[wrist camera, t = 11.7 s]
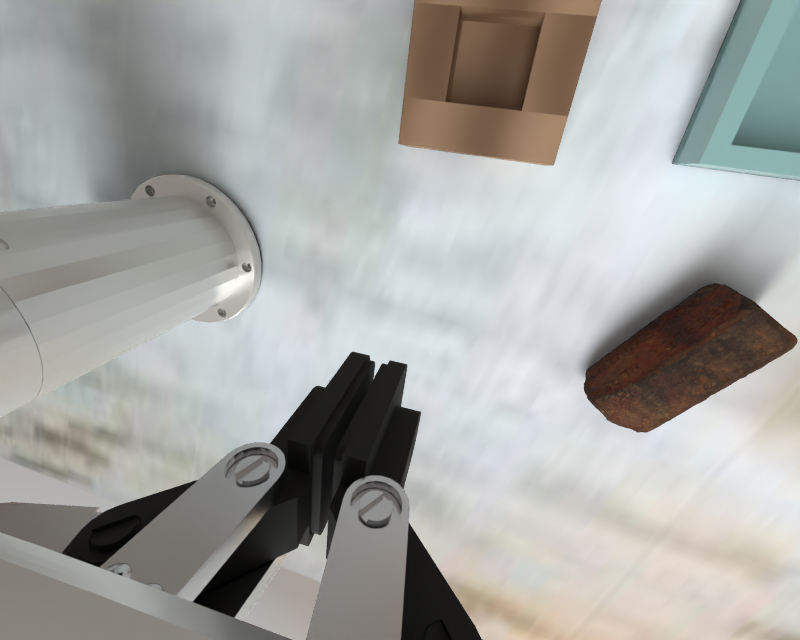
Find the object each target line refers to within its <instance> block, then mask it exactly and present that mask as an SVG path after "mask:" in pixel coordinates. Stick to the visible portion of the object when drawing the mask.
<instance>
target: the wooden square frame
mask: <svg viewBox="0 0 800 640" xmlns="http://www.w3.org/2000/svg"><path fill="white" fill-rule="evenodd" d="M600 4H601V0H415V2H414V11H413V20H412V29H411V37H410V46H409V55H408V64H407V73H406V82H405V90H404V99H403V108H402V117H401V126H400V135H399V144H401V145H405V146H410V147H417V148H424V149H432V150H439V151H446V152H453V153H460V154H468V155H475V156H482V157H489V158H496V159H504V160H511V161H518V162H525V163H533V164H540V165H554V163H555V159H556V156H557V152H558V149H559V145H560V142H561V138H562V135H563V131H564V128H565V125H566V121H567V118H568V114H569V111H570V107H571V104H572V100H573V97H574V94H575V90H576V87H577V83H578V80H579V76H580V73H581V69H582V66H583V63H584V59H585V56H586V52H587V49H588V45H589V42H590V38H591V35H592V32H593V28H594V25H595V21H596V18H597V14H598V11H599V7H600Z"/></svg>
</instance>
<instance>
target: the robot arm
mask: <svg viewBox="0 0 800 640" xmlns="http://www.w3.org/2000/svg"><path fill="white" fill-rule="evenodd" d="M260 281H261V257H260V252H259V247H258V244H257V241H256V238H255V235H254V233H253V231H252V229H251V227H250V225H249V223H248V222H247V220H246V218H245V217H244V216H243V214H242V213H241V211H240V210H239V209H238V207H237V206H236V205H235V204H234V203H233V202H232V201H231V200H230V199H229V198H228V197H227V196H226V195H225V194H224V193H222V192H221V191H220V190H218V189H217V188H216V187H214V186H213V185H211V184H209V183H207V182H205V181H203V180H201V179H198V178H195V177H191V176H188V175H175V174H172V175H159V176H156V177H153V178H150V179H148V180H146V181H145V182H144V183H142V184H141V185H139V186H138V187H137V189H136V190H135V191H134V193H133V194H132V195H131V197H130V199H129V200H121V201H110V202H100V203H89V204H79V205H68V206H58V207H47V208H37V209H26V210H16V211H5V212H0V418H1V417H3V416H5V415H6V414H8V413H10V412H12V411H14V410H16V409H18V408H20V407H22V406H24V405H26V404H28V403H29V402H31V401H34V400H36V399H38V398H40V397H42V396H43V395H45V394H47V393H49V392H51V391H53V390H55V389H57V388H59V387H61V386H63V385H65V384H67V383H69V382H71V381H73V380H75V379H76V378H78V377H80V376H82V375H84V374H86V373H88V372H90V371H92V370H94V369H96V368H98V367H100V366H101V365H103V364H105V363H107V362H109V361H111V360H113V359H115V358H117V357H119V356H121V355H123V354H125V353H127V352H128V351H130V350H132V349H134V348H136V347H138V346H140V345H142V344H144V343H146V342H148V341H150V340H152V339H153V338H155V337H157V336H159V335H161V334H163V333H165V332H167V331H169V330H171V329H173V328H175V327H177V326H179V325H180V324H182V323H184V322H186V321H188V320H190V319H193V320H196V321H200V322H207V323H214V322H222V321H225V320H229V319H231V318H233V317H235V316H236V315H238V314H240V313H241V312H242V311H244V310H245V309H246V308H248V306H249V305H250V304H251V303H252V301H253V300H254V299H255V296H256V294H257V292H258V289H259V286H260ZM374 369H375V362H374V361H370V356H369V355H365V354H360V353H356V352H351V353H350V355H349V356H348V358H347V359H346V360H345V362H344V363H343V364H342V366H341V367H340V369H339V370H338V371H337V373H336V374H335V375H334V377H333V378H332V379H331V381H330V382H329V384H328V385H327V386H326V388H325V387H321V386H315V387H314V388H313V389H312V391H311V392H310V393H309V394H308V396H307V397H306V398H305V400H304V401H303V402H302V403H301V405H300V406H299V407H298V408H297V410H296V411H295V412H294V414H293V415H292V416H291V417H290V419H289V420H288V421H287V423H286V424H285V425H284V426H283V428H282V429H281V430H280V431H279V433H278V434H277V435H276V437H275V438H274V439H273V440H272V442H271V443H270V444H268V443H261V442H255V443H250V444H245V445H243V446H240V447H238V448H236V449H234V450H233V451H231V452H230V453H228V454H227V455H226V456H225V457H224V458H223V459H221V460H220V461H219V462H218V463H217V464H216V465H215V466H214V467H212V468H211V469H210V470H209V471H208V472H207V473H206V474H204V475H203V476H202V477H201V478H200V479H199V480H196V481H193V482H190V483H187V484H184V485H181V486H178V487H174V488H171V489H168V490H165V491H162V492H159V493H156V494H153V495H150V496H147V497H144V498H140V499H137V500H134V501H131V502H128V503H125V504H122V505H119V506H117V507H114V508H112V509H109V510H107V511H105V512H103V513H101V512H100V509H99V508H98V507H83V506H66V505H49V504H33V503H31V504H30V503H16V502H10V503H0V640H291V639H289V638H286V637H283V636H281V635H278V634H276V633H273V632H270V631H268V630H265V629H262V628H260V627H257V626H254V625H252V624H249V623H246V622H244V620H245V618H246V617H247V615H248V614H249V612H250V611H251V610H252V608H253V607H254V605H255V603H256V602H257V601H258V599H259V598H260V596H261V595H262V593H263V591H264V590H265V589H266V587H267V586H268V584H269V583H270V581H271V580H272V578H273V577H274V575H275V574H276V572H277V571H278V569H279V568H280V566H281V565H282V563H283V561H284V559H285V557H286V553H288V552H290V551H292V550H294V549H296V548H298V546H299V544H303V545H306V546H309V544H310V542H311V540H312V538H313V536H314V533H315V534H318V535H321V533H322V532H323V530H324V528H325V525H326V523H327V521H328V534H327V550H326V559H327V562H326V566H325V569H324V573H323V577H322V581H321V585H320V588H319V592H318V596H317V600H316V604H315V607H314V611H313V615H312V619H311V622H310V626H309V630H308V634H307V638H306V640H482V639H481V637H480V635H479V633H478V631H477V629H476V627H475V625H474V624H473V622H472V621H471V619H470V617H469V616H468V614H467V613H466V611H465V610H464V608H463V607H462V605H461V603H460V602H459V600H458V599H457V597H456V596H455V594H454V592H453V591H452V589H451V588H450V586H449V585H448V583H447V581H446V580H445V578H444V577H443V575H442V574H441V572H440V571H439V569H438V567H437V566H436V564H435V563H434V561H433V560H432V558H431V556H430V555H429V553H428V552H427V550H426V549H425V547H424V546H423V544H422V542H421V541H420V539H419V538H418V536H417V535H416V533H415V531H414V530H413V528H412V527H411V525H410V524H409V510H410V508H409V499H408V497H407V495H406V493H405V491H404V485H405V481H406V477H407V473H408V469H409V465H410V462H411V458H412V454H413V449H414V445H415V441H416V436H417V431H418V426H419V421H420V416H421V412H419V411H415V410H411V409H407V408H403V407H401V402H402V396H403V390H404V384H405V378H406V371H407V364H403V363H399V362H395V361H389V363H388V365H387V364H382V365H381V366H380V368H379V370H378V372H377V374H376V376H375V378H374ZM373 378H374V380H373Z"/></svg>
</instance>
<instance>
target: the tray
mask: <svg viewBox="0 0 800 640" xmlns="http://www.w3.org/2000/svg"><path fill="white" fill-rule="evenodd" d="M672 164H677V165H684V166H692V167H699V168H707V169H715V170H722V171H730V172H738V173H745V174H753V175H760V176H768V177H776V178H783V179H791V180H799V181H800V0H741V1H740V4H739V6H738V9H737V11H736V13H735V16H734V18H733V20H732V23H731V25H730V28H729V30H728V32H727V35H726V37H725V39H724V42H723V44H722V46H721V49H720V51H719V54H718V56H717V58H716V61H715V63H714V65H713V68H712V70H711V73H710V75H709V77H708V80H707V82H706V84H705V87H704V89H703V91H702V94H701V96H700V99H699V101H698V103H697V106H696V108H695V110H694V113H693V115H692V118H691V120H690V122H689V125H688V127H687V129H686V132H685V134H684V136H683V139H682V141H681V144H680V146H679V148H678V151H677V153H676V155H675V158H674V160H673V163H672Z"/></svg>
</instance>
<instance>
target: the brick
mask: <svg viewBox="0 0 800 640" xmlns="http://www.w3.org/2000/svg"><path fill="white" fill-rule="evenodd" d="M796 344H797V338H796V336H795V335H793V334H792V333H791V332H789V331H788V330H787V329H785V328H784V327H783V326H782V325H781V324H779V323H778V322H777V321H776V320H775V319H773V318H772V317H771V316H770V315H769V314H768V313H767V312H765V311H764V310H763V309H762V308H761V307H760V306H759V305H758V304H756V303H755V302H754V301H752V300H751V299H749V298H747V297H745V296H743V295H742V294H740V293H738V292H737V291H734V290H733V289H732V288H730V287H728V286H726V285H721V284H716V283H714V284H712V285H708V286H705V287H703V288H701V289H699V290H698V291H697V292H696V293H694V294H692V295H691V296H689V297H688V298H687V299H686V300H685V301H684V302H682V303H681V304H680V305H678V306H676V307H675V308H673V309H671V310H670V311H668V312H665V313H663V314H662V315H661V316H660V317H658V318H657V319H656V320H655V321H653V322H651V323H650V324H649V325H648V326H646V327H645V328H643V329H642V330H640V331H639V332H638V333H637V334H635V335H634V336H633V337H631V338H630V339H628V340H627V341H626V342H624V343H623V344H622V345H620V346H619V347H618V348H616V349H615V350H613V351H612V352H611V353H609V354H608V355H607V356H605V357H604V358H603V359H602V360H600V361H599V362H597V363H596V364H595V365H593V366H592V367H591V368H589V369H588V370H587V371H586V381H585V383H584V391H585V393H586V395H587V398H588V400H589V401H590V402H591V403H592V404H593V405H594V406H595V407H596V408H597V409H598V410H599V411H600V412H601V413H602V414H603V415H604V416H605V417H606V419H607V420H608V421H610V422H612V423H614V424H616V425H619V426H622V427H625V428H629V429H632V430H634V431H636V432H649V431H651V430H653V429H655V428H657V427H659V426H660V425H662V424H664V423H665V422H667V421H670V420H671V419H673V418H674V417H676V416H677V415H679V414H681V413H683V412H685V411H686V410H688V409H689V408H691V407H693V406H694V405H696V404H698V403H700V402H702V401H704V400H706V399H707V398H708V397H709V396H711V395H713V394H715V393H717V392H719V391H720V390H722V389H724V388H726V387H728V386H729V385H731V384H733V383H734V382H736V381H737V380H739V379H741V378H744V377H746V376H747V375H748V374H750V373H752V372H754V371H756V370H758V369H760V368H762V367H764V366H765V365H766V364H768V363H769V362H771V361H773V360H775V359H776V358H778V357H780V356H782V355H783V354H785V353H786V352H788V351H790V350H791V349H793V347H794V346H795V345H796Z"/></svg>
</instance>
